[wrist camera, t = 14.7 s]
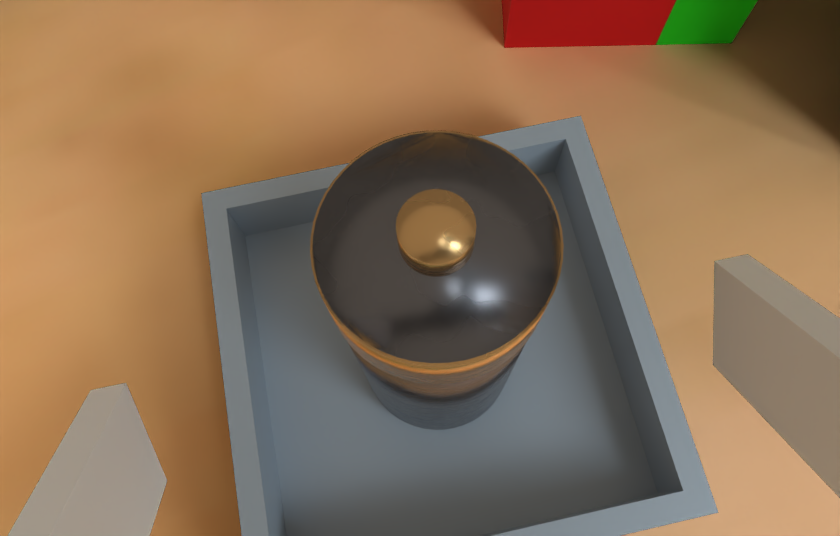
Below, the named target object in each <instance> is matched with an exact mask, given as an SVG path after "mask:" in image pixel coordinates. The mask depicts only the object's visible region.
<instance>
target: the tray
mask: <svg viewBox="0 0 840 536" xmlns="http://www.w3.org/2000/svg"><path fill="white" fill-rule="evenodd" d="M479 137H480V138H483V139H486V140H488V141H490V142H492V143H495V144H497V145H499V146H501V147H503V148H504V149H506V150H507V151H509V152H511V153H512V154H514V155H515V156H516V157H518V158H519V159H520V160H521V161H523V162H524V163H525V164H526V165H527V166H528V167H529V168H530V169H531V170H532V171H533V172H534V173H535V174H536V175H537V177H538V178H539V179H540V181H541V182H542V183H543V185H544V186H545V187H546V189H547V191H548V193H549V194H550V196H551V198H552V200H553V202H554V205H555V207H556V210H557V212H558V215H559V219H560V223H561V227H562V234H563V244H564V247H563V263H562V268H561V273H560V277H559V280H558V283H557V286H556V289H555V292H554V294H553V296H552V298H551V299H550V301H549V303H548V305H547V307H546V309H545V311H544V313H543V315H542V317H541V319H540V321H539V323H538V325H537V327H536V329H535V331H534V332H533V334H532V335H531V336H530V338H529V339H528V341H527V342H526V344H525V346H524V348H523V350H522V352H521V354H520V356H519V358H518V360H517V362H516V364H515V366H514V368H513V370H512V372H511V374H510V376H509V378H508V380H507V382H506V384H505V386H504V388H503V390H502V392H501V394H500V395H499V397H498V398H497V400H496V401H495V403H494V404H493V405H492V406H491V407H490V408H489V409H488V410H487V411H486V412H485V413H484V414H482V415H481V416H480V417H478V418H477V419H475V420H474V421H472V422H470V423H467V424H465V425H463V426H460V427H456V428H452V429H446V430H430V429H423V428H419V427H415V426H413V425H410V424H408V423H405V422H404V421H402V420H400V419H398V418H397V417H396V416H394V415H393V414H392V413H390V412H389V411H388V410H387V409H386V408H385V407H384V406H383V405H382V403H381V402H380V401H379V400H378V398H377V397H376V395H375V393H374V391H373V390H372V388H371V386H370V384H369V382H368V380H367V378H366V376H365V374H364V372H363V371H362V369H361V367H360V365H359V363H358V361H357V359H356V357H355V355H354V353H353V351H352V349H351V348H350V346H349V344H348V342H347V341H346V339H345V338H344V337H343V336H342V334H341V332H340V330H339V329H338V327H337V325H336V324H335V322H334V320H333V318H332V316H331V314H330V312H329V310H328V309H327V307H326V305H325V303H324V301H323V299H322V297H321V295H320V293H319V290H318V288H317V285H316V283H315V279H314V275H313V271H312V267H311V257H310V239H311V231H312V226H313V221H314V218H315V215H316V212H317V209H318V206H319V204H320V202H321V200H322V198H323V196H324V194H325V192H326V191H327V189H328V188H329V186H330V185H331V183H332V181H333V180H334V179H335V178H336V177H337V175H338V174H339V173H340V172H341V171H342V170H343V169H344V168H345V167H346V166H347V165H348V164H349V163H347V164H342V165H337V166H332V167H327V168H323V169H318V170H313V171H308V172H303V173H298V174H293V175H288V176H283V177H278V178H274V179H269V180H264V181H259V182H254V183H249V184H244V185H239V186H234V187H229V188H225V189H220V190H215V191H210V192H205V193H201V194H202V203H203V211H204V220H205V228H206V237H207V245H208V254H209V262H210V271H211V279H212V288H213V296H214V305H215V313H216V322H217V330H218V339H219V347H220V356H221V365H222V373H223V382H224V390H225V399H226V407H227V416H228V424H229V433H230V441H231V450H232V458H233V467H234V475H235V484H236V492H237V501H238V509H239V518H240V526H241V535H242V536H621V535H625V534H629V533H634V532H638V531H642V530H646V529H650V528H655V527H659V526H663V525H667V524H672V523H676V522H680V521H684V520H689V519H693V518H697V517H701V516H706V515H710V514H714V513H718V510H717V507H716V504H715V501H714V498H713V496H712V493H711V490H710V487H709V484H708V481H707V478H706V475H705V473H704V470H703V467H702V464H701V461H700V458H699V455H698V452H697V450H696V447H695V444H694V441H693V438H692V435H691V432H690V429H689V426H688V424H687V421H686V418H685V415H684V412H683V409H682V406H681V403H680V401H679V398H678V395H677V392H676V389H675V386H674V383H673V380H672V377H671V375H670V372H669V369H668V366H667V363H666V360H665V357H664V354H663V352H662V349H661V346H660V343H659V340H658V337H657V334H656V331H655V328H654V326H653V323H652V320H651V317H650V314H649V311H648V308H647V305H646V303H645V300H644V297H643V294H642V291H641V288H640V285H639V282H638V279H637V277H636V274H635V271H634V268H633V265H632V262H631V259H630V256H629V254H628V251H627V248H626V245H625V242H624V239H623V236H622V233H621V231H620V228H619V225H618V222H617V219H616V216H615V213H614V210H613V207H612V205H611V202H610V199H609V196H608V193H607V190H606V187H605V184H604V182H603V179H602V176H601V173H600V170H599V167H598V164H597V161H596V158H595V156H594V153H593V150H592V147H591V144H590V141H589V138H588V135H587V133H586V130H585V127H584V124H583V121H582V118H581V116H577V117H572V118H567V119H563V120H558V121H553V122H548V123H543V124H538V125H533V126H528V127H523V128H518V129H514V130H509V131H504V132H499V133H494V134H489V135H484V136H479Z"/></svg>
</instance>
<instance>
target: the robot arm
mask: <svg viewBox="0 0 840 536" xmlns="http://www.w3.org/2000/svg"><path fill="white" fill-rule="evenodd" d="M713 365H714V366H715V367H716V369H717V370H718V371H719V372H720V373H721V374H722V375H723V376H724V377H725V378H726V379H727V380H728V381H729V382H730V383H731V384H732V385H733V386H734V387H735V388H736V390H737V391H738V392H739V393H740V394H741V395H742V396H743V397H744V398H745V399H746V400H747V401H748V402H749V403H750V404H751V405H752V406H753V407H754V408H755V409H756V411H757V412H758V413H759V414H760V415H761V416H762V417H763V418H764V419H765V420H766V421H767V422H768V423H769V424H770V425H771V426H772V427H773V428H774V429H775V430H776V432H777V433H778V434H779V435H780V436H781V437H782V438H783V439H784V440H785V441H786V442H787V443H788V444H789V445H790V446H791V447H792V448H793V449H794V450H795V451H796V453H797V454H798V455H799V456H800V457H801V458H802V459H803V460H804V461H805V462H806V463H807V464H808V465H809V466H810V467H811V468H812V469H813V470H814V471H815V473H816V474H817V475H818V476H819V477H820V478H821V479H822V480H823V481H824V482H825V483H826V484H827V485H828V486H829V487H830V488H831V489H832V490H833V491H834V492H835V494H836V495H837V496H838V497H839V498H840V318H839V317H837V316H836V315H834V314H833V313H831V312H830V311H828V310H827V309H826V308H824V307H823V306H821V305H820V304H818V303H817V302H816V301H814V300H813V299H811V298H810V297H808V296H807V295H805V294H804V293H803V292H801V291H800V290H798V289H797V288H795V287H794V286H793V285H791V284H790V283H788V282H787V281H785V280H784V279H782V278H781V277H780V276H778V275H777V274H775V273H774V272H772V271H771V270H770V269H768V268H767V267H765V266H764V265H762V264H761V263H759V262H758V261H757V260H755V259H754V258H752V257H751V256H749V255H748V254H746V255H741V256H737V257H732V258H727V259H722V260H717V261H714V324H713ZM166 483H167V479H166V476H165V474H164V472H163V469H162V467H161V465H160V462H159V460H158V457H157V455H156V453H155V450H154V448H153V446H152V443H151V441H150V438H149V436H148V434H147V431H146V429H145V427H144V424H143V422H142V419H141V417H140V415H139V412H138V410H137V407H136V405H135V403H134V400H133V398H132V396H131V393H130V391H129V388H128V386H127V384H126V383H123V384H118V385H113V386H108V387H103V388H99V389H94V390H90V392H89V394H88V396H87V397H86V399H85V401H84V403H83V404H82V406H81V408H80V410H79V411H78V413H77V415H76V417H75V418H74V420H73V422H72V424H71V425H70V427H69V429H68V431H67V432H66V434H65V436H64V438H63V439H62V441H61V443H60V445H59V446H58V448H57V450H56V452H55V453H54V455H53V457H52V459H51V460H50V462H49V464H48V466H47V467H46V469H45V471H44V473H43V474H42V476H41V478H40V480H39V481H38V483H37V485H36V487H35V488H34V490H33V492H32V494H31V495H30V497H29V499H28V501H27V502H26V504H25V506H24V508H23V509H22V511H21V513H20V515H19V516H18V518H17V520H16V522H15V523H14V525H13V527H12V529H11V530H10V532H9V534H8V536H150V533H151V530H152V527H153V524H154V521H155V517H156V514H157V511H158V508H159V505H160V502H161V499H162V496H163V493H164V489H165V486H166Z"/></svg>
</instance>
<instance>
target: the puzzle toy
mask: <svg viewBox="0 0 840 536" xmlns="http://www.w3.org/2000/svg"><path fill="white" fill-rule="evenodd" d="M757 1H758V0H502V11H503V29H504V47H505V48H514V47H565V46H616V45H667V44H718V43H732V42H733V40H734V38H735V37H736V35H737V34H738V32H739V30H740V29H741V27H742V26H743V24H744V22H745V21H746V19H747V17H748V16H749V14H750V13H751V11H752V9H753V8H754V6H755V5H756V3H757Z"/></svg>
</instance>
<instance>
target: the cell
mask: <svg viewBox="0 0 840 536" xmlns="http://www.w3.org/2000/svg"><path fill="white" fill-rule="evenodd" d="M563 247H564V244H563V234H562V227H561V223H560V219H559V215H558V212H557V210H556V207H555V205H554V202H553V200H552V198H551V196H550V194H549V193H548V191H547V189H546V187H545V186H544V185H543V183H542V182H541V181H540V179H539V178H538V177H537V175H536V174H535V173H534V172H533V171H532V170H531V169H530V168H529V167H528V166H527V165H526V164H525V163H524V162H523V161H521V160H520V159H519V158H518V157H516V156H515V155H514V154H512V153H511V152H509V151H507V150H506V149H504V148H503V147H501V146H499V145H497V144H495V143H492V142H490V141H488V140H486V139H483V138H480V137H476V136H473V135H470V134H465V133H460V132H452V131H422V132H415V133H409V134H405V135H401V136H397V137H394V138H391V139H389V140H386V141H384V142H381V143H379V144H377V145H375V146H374V147H372V148H370V149H368V150H366V151H365V152H363V153H362V154H361V155H359V156H358V157H356V158H355V159H354V160H353V161H351V162H350V163H349V164H348V165H347V166H346V167H345V168H344V169H343V170H342V171H341V172H340V173H339V174H338V175H337V177H336V178H335V179H334V180H333V181H332V183H331V185H330V186H329V188H328V189H327V191H326V192H325V194H324V196H323V198H322V200H321V202H320V204H319V206H318V209H317V212H316V215H315V218H314V221H313V226H312V231H311V239H310V257H311V267H312V271H313V275H314V279H315V283H316V285H317V288H318V290H319V293H320V295H321V297H322V299H323V301H324V303H325V305H326V307H327V309H328V310H329V312H330V314H331V316H332V318H333V320H334V322H335V324H336V325H337V327H338V329H339V330H340V332H341V334H342V336H343V337H344V338H345V339H346V341H347V342H348V344H349V346H350V348H351V349H352V351H353V353H354V355H355V357H356V359H357V361H358V363H359V365H360V367H361V369H362V371H363V372H364V374H365V376H366V378H367V380H368V382H369V384H370V386H371V388H372V390H373V391H374V393H375V395H376V397H377V398H378V400H379V401H380V402H381V403H382V405H383V406H384V407H385V408H386V409H387V410H388V411H389V412H390V413H392V414H393V415H394V416H396V417H397V418H398V419H400V420H402V421H404V422H405V423H408V424H410V425H413V426H415V427H419V428H423V429H430V430H446V429H452V428H456V427H460V426H463V425H465V424H467V423H470V422H472V421H474V420H475V419H477V418H478V417H480V416H481V415H482V414H484V413H485V412H486V411H487V410H488V409H489V408H490V407H491V406H492V405H493V404H494V403H495V401H496V400H497V398H498V397H499V395H500V394H501V392H502V390H503V388H504V386H505V384H506V382H507V380H508V378H509V376H510V374H511V372H512V370H513V368H514V366H515V364H516V362H517V360H518V358H519V356H520V354H521V352H522V350H523V348H524V346H525V344H526V342H527V341H528V339H529V338H530V336H531V335H532V334H533V332H534V331H535V329H536V327H537V325H538V323H539V321H540V319H541V317H542V315H543V313H544V311H545V309H546V307H547V305H548V303H549V301H550V299H551V298H552V296H553V294H554V292H555V289H556V286H557V283H558V280H559V277H560V273H561V268H562V263H563Z"/></svg>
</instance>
